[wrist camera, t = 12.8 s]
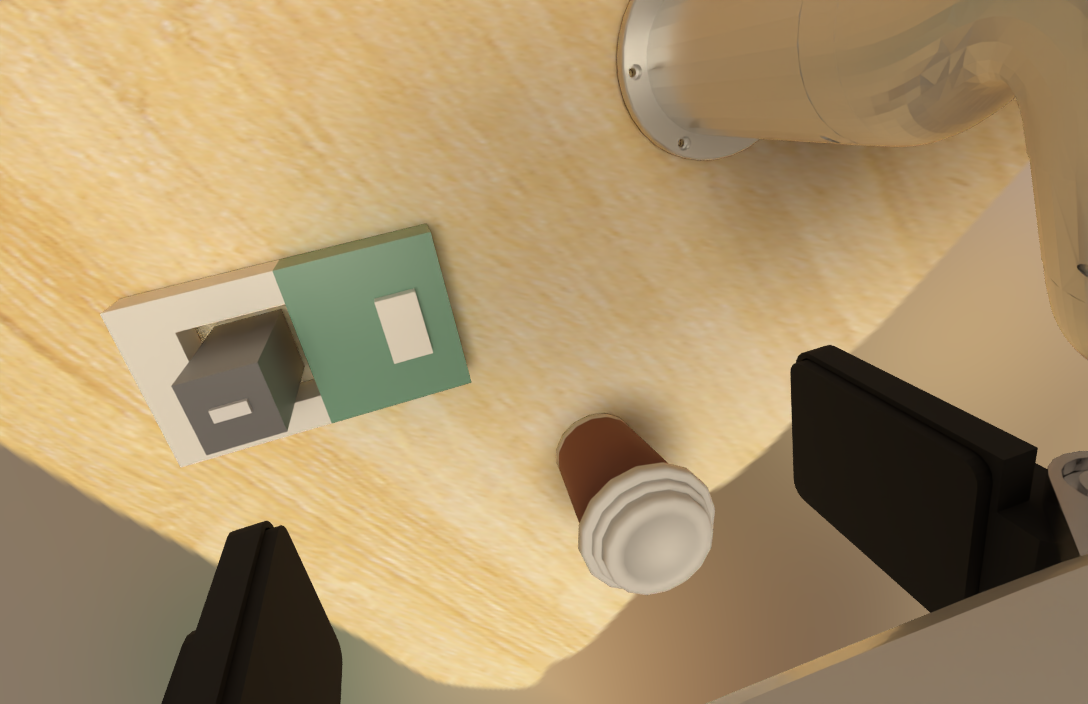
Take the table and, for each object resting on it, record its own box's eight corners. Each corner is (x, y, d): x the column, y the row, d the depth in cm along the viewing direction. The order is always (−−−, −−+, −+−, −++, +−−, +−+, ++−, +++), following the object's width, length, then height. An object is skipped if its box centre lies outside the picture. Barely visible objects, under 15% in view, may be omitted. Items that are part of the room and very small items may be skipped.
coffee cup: (669, 453, 49) (752, 548, 39) (578, 520, 50) (636, 634, 39) (613, 374, 45) (689, 455, 35) (515, 447, 46) (561, 550, 35)
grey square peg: (281, 308, 38) (256, 364, 29) (304, 366, 39) (286, 434, 31) (214, 326, 37) (169, 388, 29) (240, 384, 39) (204, 458, 30)
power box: (426, 223, 38) (431, 234, 35) (464, 365, 42) (473, 387, 39) (120, 298, 35) (93, 318, 32) (193, 443, 39) (176, 474, 36)
